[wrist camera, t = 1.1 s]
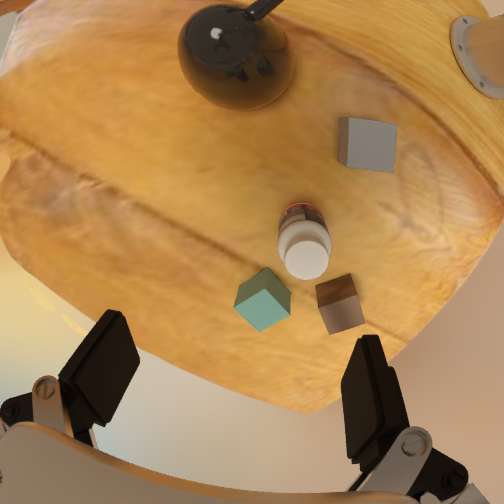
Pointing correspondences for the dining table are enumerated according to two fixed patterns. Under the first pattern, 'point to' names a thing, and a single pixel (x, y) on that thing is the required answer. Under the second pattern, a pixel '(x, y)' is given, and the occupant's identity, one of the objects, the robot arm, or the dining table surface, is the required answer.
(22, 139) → the dining table surface
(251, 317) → the teal block
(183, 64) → the pump dispenser
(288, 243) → the pill bottle
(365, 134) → the slate-grey block
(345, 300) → the walnut block
